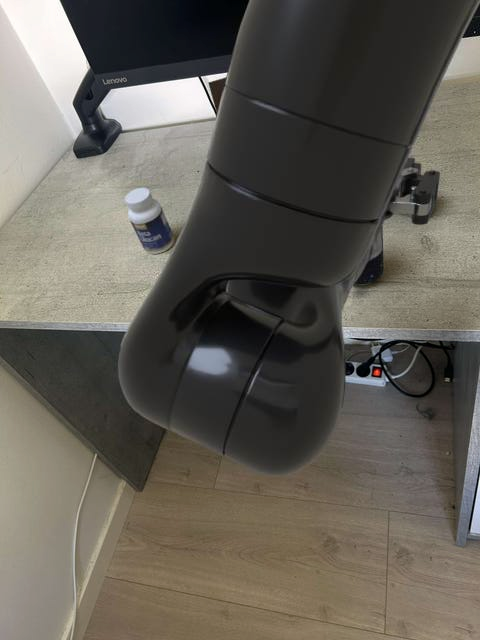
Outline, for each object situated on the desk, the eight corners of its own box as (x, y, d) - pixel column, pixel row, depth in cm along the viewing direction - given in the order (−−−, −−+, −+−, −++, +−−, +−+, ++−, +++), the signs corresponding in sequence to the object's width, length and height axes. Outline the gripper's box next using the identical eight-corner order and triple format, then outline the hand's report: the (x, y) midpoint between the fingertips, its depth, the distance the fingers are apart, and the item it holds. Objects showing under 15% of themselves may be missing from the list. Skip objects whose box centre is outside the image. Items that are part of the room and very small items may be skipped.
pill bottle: (144, 258, 79) (119, 210, 72) (144, 238, 83) (120, 190, 76) (175, 249, 79) (154, 199, 72) (174, 230, 83) (153, 180, 76)
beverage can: (390, 265, 66) (389, 189, 57) (373, 294, 63) (369, 219, 54) (351, 256, 68) (344, 183, 60) (333, 283, 66) (323, 211, 57)
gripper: (431, 187, 31) (448, 126, 43) (226, 180, 36) (293, 127, 48) (419, 290, 35) (437, 207, 47) (236, 270, 40) (295, 201, 52)
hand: (364, 167), depth 48 cm, fingers open, 8 cm apart
